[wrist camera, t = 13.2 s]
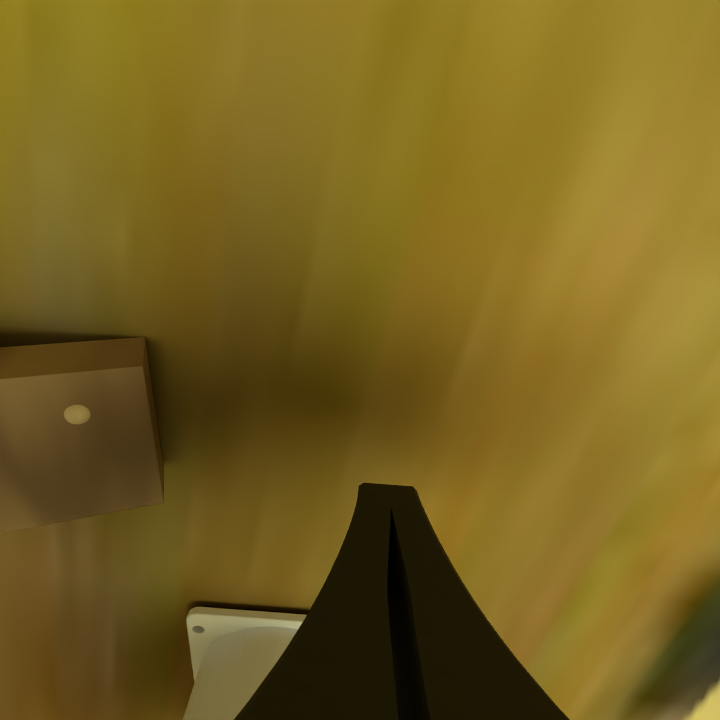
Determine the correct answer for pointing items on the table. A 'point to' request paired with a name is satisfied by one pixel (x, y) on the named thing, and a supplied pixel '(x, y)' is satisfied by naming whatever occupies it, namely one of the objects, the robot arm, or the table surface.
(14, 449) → the tile
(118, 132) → the table surface
